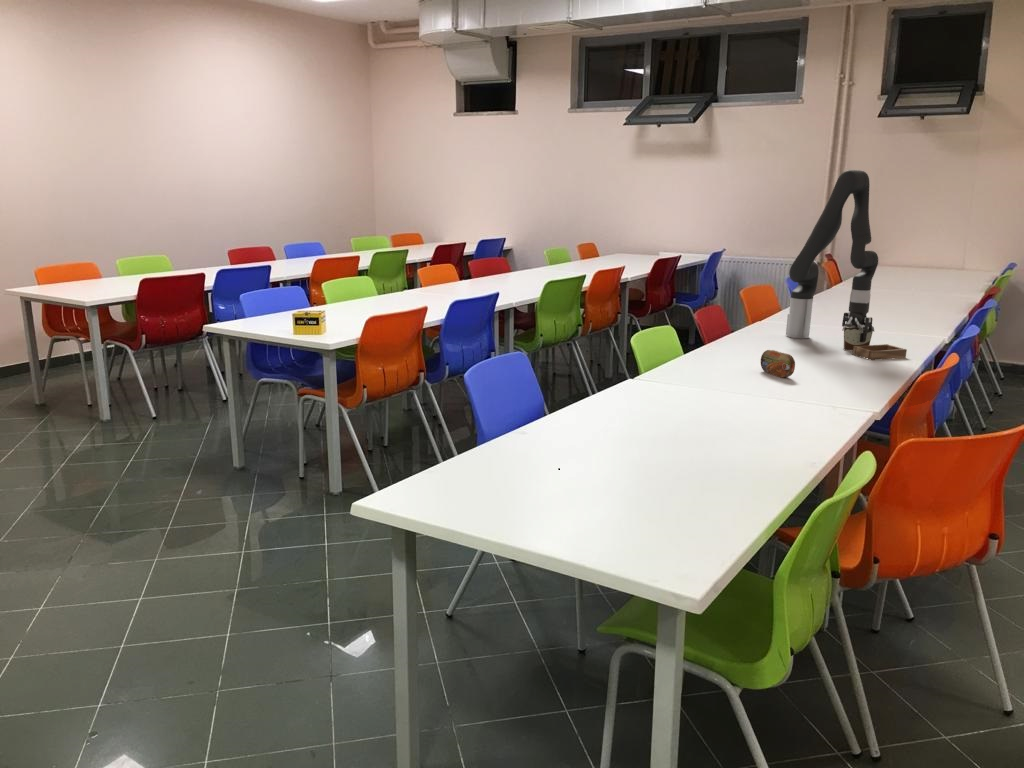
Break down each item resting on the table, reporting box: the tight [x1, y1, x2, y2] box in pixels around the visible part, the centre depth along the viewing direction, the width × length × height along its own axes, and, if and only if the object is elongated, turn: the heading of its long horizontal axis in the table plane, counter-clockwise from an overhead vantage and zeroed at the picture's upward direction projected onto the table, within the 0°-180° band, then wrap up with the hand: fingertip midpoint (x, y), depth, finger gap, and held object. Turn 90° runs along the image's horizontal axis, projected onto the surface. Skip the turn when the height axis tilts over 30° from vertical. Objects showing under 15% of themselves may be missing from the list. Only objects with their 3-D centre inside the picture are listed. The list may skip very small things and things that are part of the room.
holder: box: [852, 343, 908, 361], centre depth 312 cm, size 10×16×3 cm, turn 108°
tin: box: [760, 349, 796, 378], centre depth 280 cm, size 15×3×8 cm, turn 23°
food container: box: [841, 323, 875, 351], centre depth 324 cm, size 12×6×10 cm, turn 84°
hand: (855, 340), depth 324 cm, fingers open, 8 cm apart
